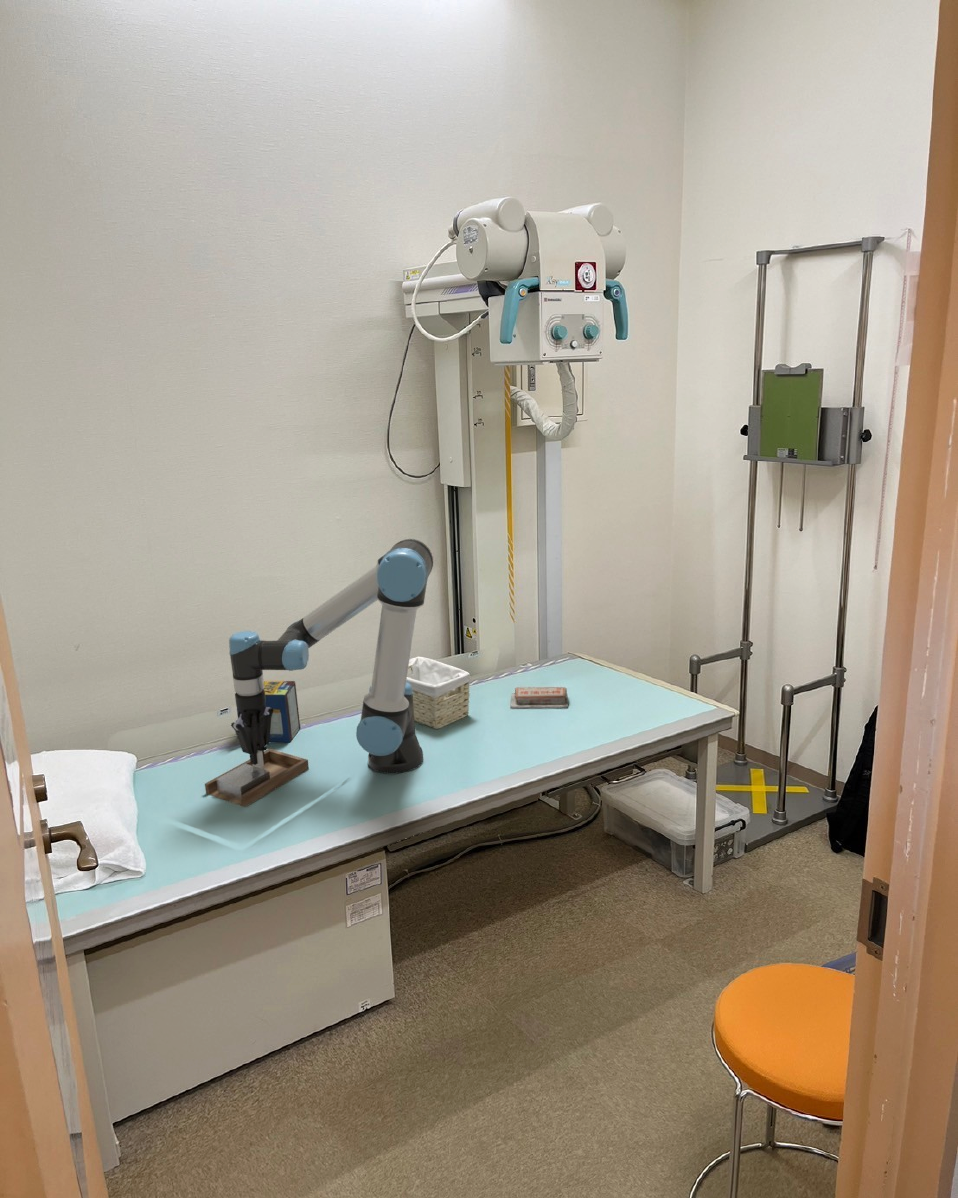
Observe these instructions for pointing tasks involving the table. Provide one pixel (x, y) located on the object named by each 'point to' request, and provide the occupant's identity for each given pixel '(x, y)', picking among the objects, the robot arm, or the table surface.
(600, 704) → the table surface
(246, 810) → the table surface
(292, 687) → the protein box
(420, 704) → the storage basket
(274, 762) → the walnut box
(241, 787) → the gray rectangular block
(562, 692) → the packaged product
